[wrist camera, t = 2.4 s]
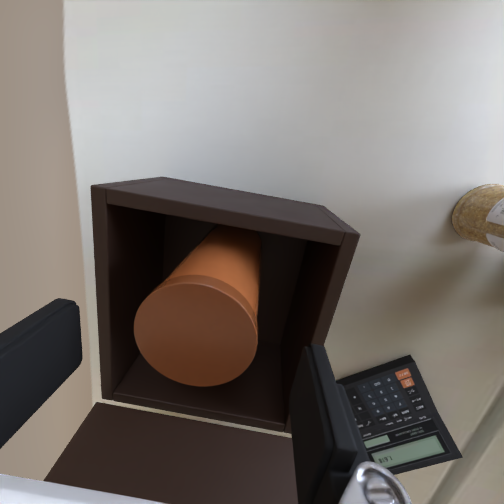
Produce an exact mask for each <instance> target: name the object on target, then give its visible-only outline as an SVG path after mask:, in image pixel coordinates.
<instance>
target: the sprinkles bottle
mask: <svg viewBox="0 0 504 504" xmlns="http://www.w3.org/2000/svg"><path fill="white" fill-rule="evenodd" d="M452 222H453V226H454V229H455V230H456V232H457V233H458V234H459V235H460V236H461V237H463V238H465V239H467V240H471V241H477V242H480V243H483V244H486V245H489V246H492V247H494V248H496V249H498V250H500V251H502V252H504V186H503V185H498V184H487V185H482V186H479V187H477V188H475V189H473V190H471V191H469V192H468V193H467V194H466V195H464V196H463V197H462V198H461V199H460V201H459V202H458V203H457V205H456V207H455V209H454V212H453V215H452Z"/></svg>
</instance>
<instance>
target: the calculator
mask: <svg viewBox="0 0 504 504" xmlns="http://www.w3.org/2000/svg"><path fill="white" fill-rule="evenodd" d="M336 383H337V384H341V385H342V386H343V387H344V389H345V391H346V394H347V397H348V400H349V403H350V405H351V408H352V411H353V414H354V417H355V420H356V422H357V425H358V428H359V431H360V434H361V437H362V439H363V442H364V445H365V448H366V451H367V454H368V456H369V459H370V462H374V463H377V464H379V465H382V466H383V467H385V468H386V469H387V470H389V471H390V472H391V473H392V474H393V475H395V474H399V473H403V472H407V471H411V470H415V469H419V468H423V467H427V466H431V465H435V464H438V463H442V462H446V461H450V460H454V459H458V458H462V455H461V453H460V451H459V450H458V448H457V446H456V444H455V442H454V441H453V439H452V437H451V435H450V433H449V431H448V430H447V428H446V426H445V424H444V422H443V421H442V419H441V417H440V415H439V413H438V412H437V409H436V407H435V405H434V403H433V401H432V398H431V396H430V394H429V392H428V390H427V387H426V385H425V383H424V381H423V379H422V376H421V374H420V372H419V370H418V368H417V365H416V363H415V361H414V360H413V358H412V357H411V356H410V355H408V356H405V357H402V358H400V359H397V360H394V361H391V362H388V363H386V364H383V365H380V366H377V367H374V368H372V369H369V370H366V371H363V372H360V373H358V374H355V375H352V376H349V377H346V378H343V379H341V380H338V381H336Z"/></svg>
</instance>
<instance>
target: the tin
mask: <svg viewBox="0 0 504 504" xmlns="http://www.w3.org/2000/svg"><path fill="white" fill-rule="evenodd" d="M261 262H262V242H261V239H260V237H259V235H258V233H257V232H256V231H255V230H249V229H244V228H238V227H233V226H227V225H222V224H216V225H215V226H214V227H213V228H212V229H211V230H210V231H209V232H208V233H207V234H206V235H205V236H204V238H203V239H202V240H201V241H200V242H199V243H198V244H197V245H196V246H195V248H194V249H193V250H192V251H191V252H190V253H189V254H188V255H187V257H186V258H185V259H184V260H183V261H182V262H181V263H180V264H179V266H178V267H177V268H176V269H175V270H174V271H173V272H172V273H171V274H170V276H169V277H168V278H167V279H166V280H165V281H164V282H163V283H161V284H160V285H159V286H157V287H156V288H155V289H154V290H153V291H152V292H151V293H150V294H149V295H148V296H147V298H146V299H145V300H144V301H143V302H142V304H141V305H140V307H139V308H138V311H137V313H136V316H135V320H134V336H135V340H136V343H137V346H138V348H139V350H140V352H141V354H142V355H143V357H144V358H145V360H146V361H147V362H148V363H149V364H150V365H151V366H152V367H153V368H154V369H155V370H157V371H158V372H159V373H161V374H162V375H164V376H166V377H167V378H169V379H172V380H174V381H176V382H179V383H182V384H186V385H191V386H201V387H206V386H215V385H220V384H224V383H227V382H229V381H231V380H233V379H235V378H236V377H238V376H239V375H241V374H242V373H243V372H244V371H245V370H246V369H247V368H248V367H249V365H250V364H251V362H252V360H253V358H254V356H255V353H256V350H257V343H258V323H257V312H258V300H259V287H260V275H261Z"/></svg>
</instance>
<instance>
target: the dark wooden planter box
mask: <svg viewBox="0 0 504 504" xmlns="http://www.w3.org/2000/svg"><path fill="white" fill-rule="evenodd" d="M91 202H92V221H93V240H94V259H95V278H96V297H97V316H98V335H99V354H100V372H101V391H102V399H106V400H113V401H117V402H122V403H128V404H133V405H139V406H144V407H149V408H155V409H160V410H165V411H171V412H176V413H182V414H187V415H192V416H198V417H203V418H209V419H214V420H219V421H225V422H230V423H236V424H241V425H246V426H252V427H257V428H263V429H268V430H273V431H279V432H283V431H284V433H290V434H292V433H291V422H290V411H289V396H290V392H291V389H292V385H293V382H294V378H295V375H296V371H297V368H298V364H299V361H300V358H301V354H302V351H303V348H304V346H307V347H308V345H309V344H310V343H311V344H316V345H322V346H324V343H325V340H326V337H327V334H328V331H329V328H330V325H331V322H332V319H333V316H334V313H335V310H336V307H337V304H338V301H339V298H340V295H341V292H342V289H343V286H344V283H345V280H346V277H347V274H348V271H349V268H350V265H351V262H352V259H353V256H354V253H355V249H356V246H357V243H358V240H359V237H360V234H359V233H358V232H357V231H355V230H354V229H353V228H352V227H350V226H349V225H348V224H346V223H345V222H344V221H342V220H341V219H340V218H339V217H337V216H336V215H335V214H333V213H332V212H331V211H329V210H328V209H327V208H326V207H324V206H322V205H316V204H311V203H305V202H300V201H294V200H289V199H283V198H278V197H272V196H267V195H261V194H255V193H250V192H244V191H239V190H233V189H228V188H222V187H217V186H211V185H206V184H200V183H195V182H189V181H184V180H178V179H173V178H167V177H156V178H148V179H140V180H131V181H123V182H114V183H106V184H98V185H91ZM216 224H222V225H227V226H233V227H238V228H244V229H249V230H255V231H256V232H257V233H258V235H259V237H260V239H261V242H262V262H261V275H260V287H259V300H258V312H257V323H258V343H257V350H256V353H255V356H254V358H253V360H252V362H251V364H250V365H249V367H248V368H247V369H246V370H245V371H244V372H243V373H242V374H241V375H239V376H238V377H236V378H235V379H233V380H231V381H229V382H227V383H224V384H220V385H215V386H206V387H201V386H191V385H186V384H182V383H179V382H176V381H174V380H172V379H169V378H167V377H166V376H164V375H162V374H161V373H159V372H158V371H157V370H155V369H154V368H153V367H152V366H151V365H150V364H149V363H148V362H147V361H146V360H145V358H144V357H143V355H142V354H141V352H140V350H139V348H138V346H137V343H136V340H135V336H134V320H135V316H136V313H137V311H138V308H139V307H140V305H141V304H142V302H143V301H144V300H145V299H146V298H147V296H148V295H149V294H150V293H151V292H152V291H153V290H154V289H155V288H156V287H157V286H159V285H160V284H161V283H163V282H164V281H165V280H166V279H167V278H168V277H169V276H170V274H171V273H172V272H173V271H174V270H175V269H176V268H177V267H178V266H179V264H180V263H181V262H182V261H183V260H184V259H185V258H186V257H187V255H188V254H189V253H190V252H191V251H192V250H193V249H194V248H195V246H196V245H197V244H198V243H199V242H200V241H201V240H202V239H203V238H204V236H205V235H206V234H207V233H208V232H209V231H210V230H211V229H212V228H213V227H214V226H215V225H216Z"/></svg>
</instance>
